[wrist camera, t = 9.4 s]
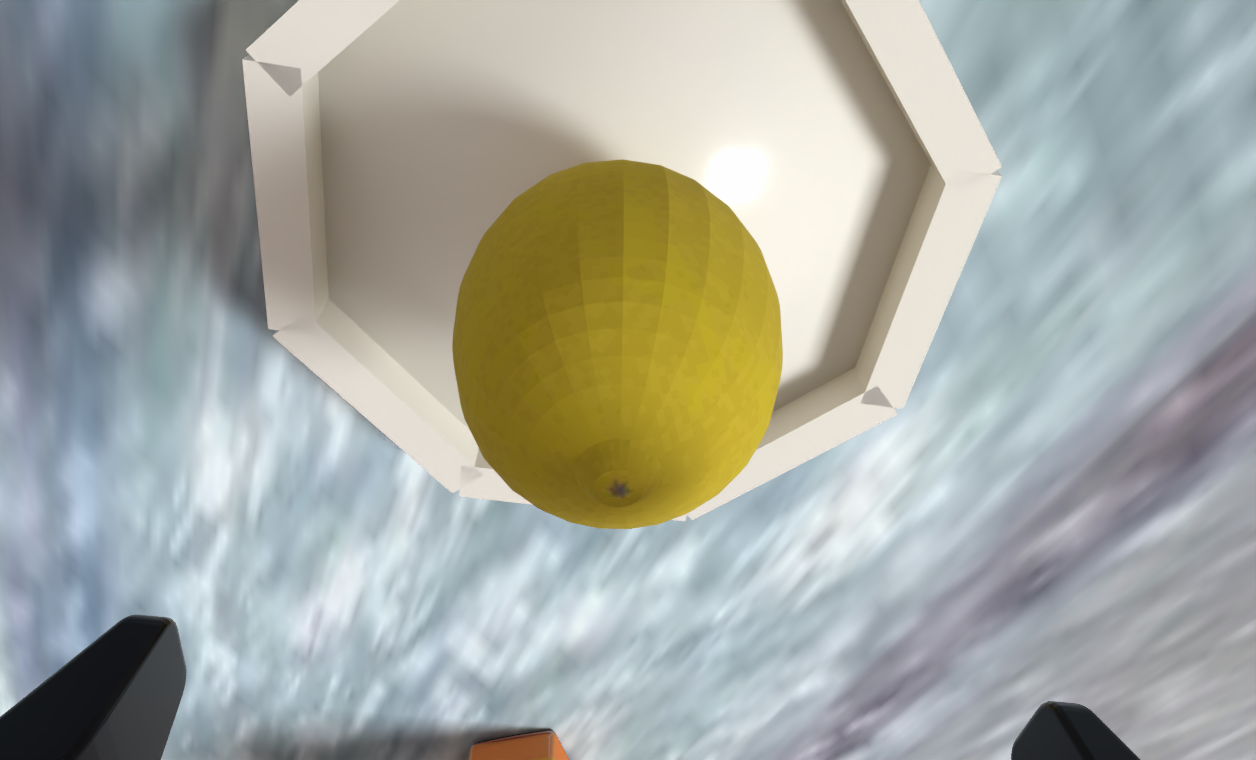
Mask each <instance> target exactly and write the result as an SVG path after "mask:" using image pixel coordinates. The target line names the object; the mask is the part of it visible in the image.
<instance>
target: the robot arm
mask: <svg viewBox="0 0 1256 760" xmlns="http://www.w3.org/2000/svg"><path fill="white" fill-rule="evenodd" d="M185 682H186V665H185V660H184V656H183V651H182V647H181V642H180V638H179V633H178V629H177V626H176V623H175V622H174V621H173V620H172V619H171V618H167V617H157V616H147V615H131V616H128V617H126V618H124V619H122V620H121V621H119V622H118V623H117V624H115V625H114V626H113V627H112V628H110V629H109V630H108V631H107V632H106V633H104V634H103V635H102V636H101V637H99V638H98V639H97V640H96V641H94V642H93V643H92V644H91V645H89V646H88V647H87V648H86V649H84V650H83V651H82V652H81V653H79V654H78V655H77V656H76V657H74V658H73V659H72V660H71V661H69V662H68V663H67V664H66V665H64V666H63V667H62V668H61V669H59V670H58V671H57V672H56V673H54V674H53V675H52V676H51V677H49V678H48V679H47V680H46V681H44V682H43V683H42V684H41V685H40V686H38V687H37V688H36V689H35V690H33V691H32V692H31V693H30V694H28V695H27V696H26V697H25V698H23V699H22V700H21V701H20V702H18V703H17V704H16V705H15V706H13V707H12V708H11V709H10V710H8V711H7V712H6V713H5V714H3V715H2V716H1V717H0V760H161V757H162V754H163V751H164V748H165V745H166V742H167V739H168V736H169V733H170V730H171V727H172V725H173V722H174V719H175V716H176V713H177V710H178V707H179V704H180V701H181V698H182V695H183V691H184V687H185ZM1011 760H1140V759H1139V758H1138V757H1137V756H1136V755H1135V754H1134V753H1133V752H1132V751H1131V750H1130V749H1129V748H1128V747H1127V746H1126V745H1125V744H1124V743H1123V742H1122V741H1121V740H1120V739H1119V738H1118V737H1117V736H1116V735H1115V734H1114V733H1113V732H1112V731H1111V730H1110V729H1109V728H1108V727H1107V726H1106V725H1105V724H1104V723H1103V722H1102V721H1101V720H1100V719H1099V718H1098V717H1097V716H1096V715H1095V714H1094V713H1093V712H1092V711H1091V710H1090V709H1088V708H1087V707H1085V706H1083V705H1080V704H1076V703H1065V702H1054V701H1048V702H1046V703H1043V704H1042V705H1041V706H1040V707H1039V708H1038V709H1037V711H1036V712H1035V714H1034V715H1033V716H1032V718H1031V719H1030V721H1029V722H1028V723H1027V725H1026V726H1025V727H1024V729H1023V730H1022V732H1021V733H1020V734H1019V736H1018V737H1017V739H1016V740H1015V742H1014V745H1013V748H1012V754H1011Z"/></svg>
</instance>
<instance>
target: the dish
mask: <svg viewBox="0 0 1256 760" xmlns="http://www.w3.org/2000/svg"><path fill="white" fill-rule="evenodd" d="M246 51H247V52H248V53H249V54H248V55H247V56H246V57H244V58H243V59H242V64H243V74H244V85H245V95H246V105H247V116H248V126H249V136H250V147H251V157H252V167H253V178H254V188H255V198H256V209H257V219H258V229H259V240H260V250H261V260H262V271H263V281H264V291H265V302H266V312H267V322H268V329H272V330H276V331H275V332H274V334H273V337H274V338H275V339H276V340H277V341H278V342H279V343H281V344H282V345H283V346H284V347H285V348H286V349H287V350H289V351H290V352H291V353H292V354H293V355H294V356H296V357H297V358H298V359H299V360H300V361H301V362H302V363H304V364H305V365H306V366H307V367H308V368H309V369H310V370H312V371H313V372H314V373H315V374H316V375H317V376H318V377H320V378H321V379H322V380H323V381H324V382H325V383H326V384H328V385H329V386H330V387H331V388H332V389H333V390H334V391H336V392H337V393H338V394H339V395H340V396H341V397H342V398H344V399H345V400H346V401H347V402H348V403H349V404H350V405H352V406H353V407H354V408H355V409H356V410H357V411H359V412H360V413H361V414H362V415H363V416H364V417H365V418H367V419H368V420H369V421H370V422H371V423H372V424H373V425H375V426H376V427H377V428H378V429H379V430H380V431H381V432H383V433H384V434H385V435H386V436H387V437H388V438H389V439H391V440H392V441H393V442H394V443H395V444H396V445H397V446H399V447H400V448H401V449H402V450H403V451H404V452H405V453H407V454H408V455H409V456H410V457H411V458H412V459H414V460H415V461H416V462H417V463H418V464H419V465H420V466H422V467H423V468H424V469H425V470H426V471H427V472H428V473H430V474H431V475H432V476H433V477H434V478H435V479H436V480H438V481H439V482H440V483H441V484H442V485H443V486H444V487H446V488H447V489H448V490H449V491H450V492H451V493H454V492H456V491H457V490H459V489H460V494H459V496H460V497H469V498H479V499H488V500H497V501H506V502H515V503H524V504H531V503H530V502H529V501H527V500H526V499H524V498H523V497H521V496H520V495H518V494H517V493H516V492H514V491H513V490H512V489H511V488H510V487H509V486H508V485H507V484H506V483H505V482H504V481H503V479H502V478H501V477H500V476H499V475H498V474H497V473H496V472H495V470H494V469H493V468H492V467H491V466H490V465H489V464H488V463H487V461H486V460H485V459H484V458H483V456H482V454H481V452H480V450H479V447H478V445H477V443H476V441H475V439H474V437H473V435H472V433H471V431H470V429H469V427H468V425H467V423H466V421H465V419H464V416H463V412H462V408H461V404H460V398H459V393H458V387H457V381H456V375H455V369H454V363H453V351H452V342H453V330H454V322H455V315H456V307H457V299H458V294H459V289H460V285H461V282H462V279H463V277H464V274H465V272H466V270H467V268H468V266H469V264H470V261H471V259H472V257H473V255H474V253H475V251H476V249H477V246H478V244H479V242H480V240H481V239H482V237H483V235H484V234H485V232H486V231H487V230H488V229H489V227H490V226H491V225H492V224H493V223H494V222H495V221H496V219H497V218H498V217H499V216H500V215H501V214H502V212H503V211H504V210H505V209H506V208H507V207H508V205H509V204H510V203H511V202H512V201H513V200H514V199H515V198H516V197H518V196H519V195H521V194H522V193H523V192H525V191H526V190H528V189H529V188H531V187H532V186H534V185H535V184H537V183H538V182H540V181H541V180H543V179H544V178H546V177H547V176H549V175H551V174H554V173H557V172H559V171H562V170H565V169H568V168H571V167H574V166H577V165H580V164H583V163H588V162H599V161H610V160H621V159H623V160H630V161H637V162H643V163H650V164H657V165H661V166H664V167H666V168H668V169H671V170H673V171H675V172H678V173H680V174H682V175H685V176H687V177H689V178H692V179H694V180H695V181H697V182H698V183H699V184H701V185H702V186H703V187H705V188H706V189H707V190H709V191H710V192H711V193H712V194H714V195H715V196H716V197H718V198H719V199H720V200H722V201H723V202H724V203H725V204H727V205H728V206H729V207H730V208H731V210H732V211H733V212H734V213H735V215H736V216H737V217H738V218H739V220H740V221H741V222H742V224H743V225H744V226H745V228H746V229H747V230H748V232H749V233H750V234H751V236H752V237H753V238H754V240H755V241H756V242H757V244H758V246H759V248H760V249H761V251H762V254H763V257H764V260H765V262H766V265H767V268H768V270H769V273H770V276H771V278H772V281H773V284H774V286H775V289H776V292H777V295H778V299H779V304H780V315H781V332H782V349H783V361H782V372H781V378H780V383H779V387H778V391H777V396H776V400H775V404H774V408H773V412H772V416H771V420H770V423H769V426H768V428H767V430H766V432H765V435H764V437H763V439H762V440H761V442H760V444H759V445H758V447H757V449H756V451H755V452H754V454H753V456H752V457H751V459H750V461H749V463H748V464H747V465H746V467H745V468H744V469H743V470H742V471H741V472H740V473H739V474H738V475H737V476H736V477H735V478H734V479H733V480H732V481H731V482H730V483H729V484H728V485H727V486H726V487H725V488H724V489H723V490H722V491H721V492H720V493H719V494H718V495H717V496H715V497H713V498H712V499H710V500H709V501H707V502H705V503H704V504H702V505H701V506H699V507H697V508H696V509H694V510H693V511H691V512H689V513H687V514H685V515H682V516H679V517H677V518H674V519H671V520H678V521H685V520H686V517H687V515H688V516H689V517H690V518H691V519H692V520H694V519H695V518H697V517H699V516H701V515H703V514H705V513H707V512H709V511H711V510H713V509H715V508H717V507H719V506H721V505H723V504H725V503H727V502H729V501H730V500H732V499H734V498H736V497H738V496H740V495H742V494H744V493H746V492H748V491H750V490H752V489H754V488H756V487H758V486H760V485H762V484H763V483H765V482H767V481H769V480H771V479H773V478H775V477H777V476H779V475H781V474H783V473H785V472H787V471H789V470H791V469H793V468H795V467H796V466H798V465H800V464H802V463H804V462H806V461H808V460H810V459H812V458H814V457H816V456H818V455H820V454H822V453H824V452H826V451H828V450H830V449H831V448H833V447H835V446H837V445H839V444H841V443H843V442H845V441H847V440H849V439H851V438H853V437H855V436H857V435H859V434H861V433H863V432H864V431H866V430H868V429H870V428H872V427H874V426H876V425H878V424H880V423H882V422H884V421H886V420H888V419H890V418H892V417H894V416H896V415H897V412H896V409H895V408H900V409H903V408H904V406H905V403H906V401H907V399H908V396H909V394H910V392H911V389H912V387H913V384H914V382H915V380H916V377H917V375H918V373H919V370H920V368H921V366H922V363H923V361H924V359H925V356H926V354H927V352H928V349H929V347H930V345H931V342H932V340H933V337H934V335H935V333H936V330H937V328H938V326H939V323H940V321H941V319H942V316H943V314H944V312H945V309H946V307H947V305H948V302H949V300H950V298H951V295H952V293H953V290H954V288H955V286H956V283H957V281H958V279H959V276H960V274H961V272H962V269H963V267H964V265H965V262H966V260H967V258H968V255H969V253H970V251H971V248H972V246H973V243H974V241H975V239H976V236H977V234H978V232H979V229H980V227H981V225H982V222H983V220H984V218H985V215H986V213H987V211H988V208H989V206H990V204H991V201H992V199H993V196H994V194H995V192H996V189H997V187H998V185H999V182H1000V180H1001V178H1002V175H1001V174H1000V173H999V172H998V171H997V170H998V169H1000V168H1002V166H1001V164H1000V162H999V160H998V158H997V156H996V154H995V152H994V150H993V148H992V146H991V144H990V142H989V140H988V138H987V136H986V134H985V132H984V130H983V128H982V126H981V124H980V122H979V120H978V118H977V116H976V114H975V112H974V110H973V108H972V106H971V104H970V102H969V100H968V98H967V96H966V94H965V92H964V90H963V88H962V86H961V84H960V82H959V80H958V78H957V76H956V74H955V72H954V70H953V68H952V66H951V64H950V62H949V60H948V58H947V56H946V54H945V52H944V50H943V48H942V46H941V44H940V42H939V40H938V38H937V36H936V34H935V32H934V30H933V28H932V26H931V24H930V22H929V20H928V18H927V16H926V14H925V12H924V10H923V8H922V6H921V4H920V2H919V0H299V1H298V2H297V3H295V4H294V5H293V6H292V7H291V8H290V9H289V10H288V11H287V12H286V13H285V14H284V15H282V16H281V17H280V18H279V19H278V20H277V21H276V22H275V23H274V24H273V25H272V26H271V27H270V28H268V29H267V30H266V31H265V32H264V33H263V34H262V35H261V36H260V37H259V38H258V39H257V40H256V41H254V42H253V43H252V44H251V45H250V46H249V47H248V48H247V49H246Z"/></svg>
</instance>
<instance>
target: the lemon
mask: <svg viewBox="0 0 1256 760" xmlns="http://www.w3.org/2000/svg"><path fill="white" fill-rule="evenodd" d="M452 351H453V363H454V369H455V375H456V381H457V387H458V393H459V398H460V404H461V408H462V412H463V416H464V419H465V421H466V423H467V425H468V427H469V429H470V431H471V433H472V435H473V437H474V439H475V441H476V443H477V445H478V447H479V450H480V452H481V454H482V456H483V458H484V459H485V460H486V461H487V463H488V464H489V465H490V466H491V467H492V468H493V469H494V470H495V472H496V473H497V474H498V475H499V476H500V477H501V478H502V479H503V481H504V482H505V483H506V484H507V485H508V486H509V487H510V488H511V489H512V490H513V491H514V492H516V493H517V494H518V495H520V496H521V497H523V498H524V499H526V500H527V501H529V502H530V503H531V504H533V505H534V506H536V507H537V508H539V509H541V510H543V511H545V512H547V513H550V514H552V515H555V516H557V517H559V518H562V519H564V520H566V521H569V522H571V523H576V524H581V525H586V526H591V527H596V528H608V529H632V528H638V527H644V526H650V525H657V524H660V523H663V522H666V521H669V520H671V519H674V518H677V517H679V516H682V515H685V514H687V513H689V512H691V511H693V510H694V509H696V508H697V507H699V506H701V505H702V504H704V503H705V502H707V501H709V500H710V499H712V498H713V497H715V496H717V495H718V494H719V493H720V492H721V491H722V490H723V489H724V488H725V487H726V486H727V485H728V484H729V483H730V482H731V481H732V480H733V479H734V478H735V477H736V476H737V475H738V474H739V473H740V472H741V471H742V470H743V469H744V468H745V467H746V465H747V464H748V463H749V461H750V459H751V457H752V456H753V454H754V452H755V451H756V449H757V447H758V445H759V444H760V442H761V440H762V439H763V437H764V435H765V432H766V430H767V428H768V426H769V423H770V420H771V416H772V412H773V408H774V404H775V400H776V396H777V391H778V387H779V383H780V378H781V372H782V361H783V349H782V332H781V315H780V304H779V299H778V295H777V292H776V289H775V286H774V284H773V281H772V278H771V276H770V273H769V270H768V268H767V265H766V262H765V260H764V257H763V254H762V251H761V249H760V248H759V246H758V244H757V242H756V241H755V240H754V238H753V237H752V236H751V234H750V233H749V232H748V230H747V229H746V228H745V226H744V225H743V224H742V222H741V221H740V220H739V218H738V217H737V216H736V215H735V213H734V212H733V211H732V210H731V208H730V207H729V206H728V205H727V204H725V203H724V202H723V201H722V200H720V199H719V198H718V197H716V196H715V195H714V194H712V193H711V192H710V191H709V190H707V189H706V188H705V187H703V186H702V185H701V184H699V183H698V182H697V181H695V180H694V179H692V178H689V177H687V176H685V175H682V174H680V173H678V172H675V171H673V170H671V169H668V168H666V167H664V166H661V165H657V164H650V163H643V162H637V161H630V160H623V159H621V160H610V161H599V162H588V163H583V164H580V165H577V166H574V167H571V168H568V169H565V170H562V171H559V172H557V173H554V174H551V175H549V176H547V177H546V178H544V179H543V180H541V181H540V182H538V183H537V184H535V185H534V186H532V187H531V188H529V189H528V190H526V191H525V192H523V193H522V194H521V195H519V196H518V197H516V198H515V199H514V200H513V201H512V202H511V203H510V204H509V205H508V207H507V208H506V209H505V210H504V211H503V212H502V214H501V215H500V216H499V217H498V218H497V219H496V221H495V222H494V223H493V224H492V225H491V226H490V227H489V229H488V230H487V231H486V232H485V234H484V235H483V237H482V239H481V240H480V242H479V244H478V246H477V249H476V251H475V253H474V255H473V257H472V259H471V261H470V264H469V266H468V268H467V270H466V272H465V274H464V277H463V279H462V282H461V285H460V289H459V294H458V299H457V307H456V315H455V322H454V330H453V342H452Z"/></svg>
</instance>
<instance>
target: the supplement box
mask: <svg viewBox="0 0 1256 760" xmlns="http://www.w3.org/2000/svg"><path fill="white" fill-rule="evenodd" d="M468 760H569V759H568V757H567V755H566V752H565V751H564V749H563V747H562V745H561V743H560V741H559V739H558V737H557V735H556V733H555V732H554V731H545V732H536V733H530V734H523V735H517V736H512V737H507V738H501V739H496V740H490V741H486V742H482V743H477V744H474V745H472V746H471V748H470V752H469V759H468Z"/></svg>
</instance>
